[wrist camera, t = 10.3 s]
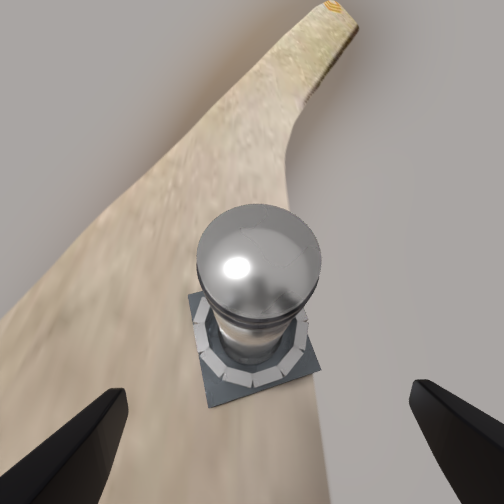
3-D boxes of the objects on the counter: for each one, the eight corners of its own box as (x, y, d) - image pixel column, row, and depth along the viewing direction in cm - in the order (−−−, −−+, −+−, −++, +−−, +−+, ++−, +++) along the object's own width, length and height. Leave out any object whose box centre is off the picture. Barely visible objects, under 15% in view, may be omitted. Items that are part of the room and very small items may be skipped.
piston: (281, 367, 19) (336, 329, 8) (215, 362, 19) (173, 317, 8) (281, 303, 22) (324, 202, 10) (222, 298, 22) (200, 193, 10)
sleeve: (319, 370, 20) (331, 366, 17) (209, 407, 18) (203, 410, 15) (281, 272, 24) (286, 256, 21) (188, 296, 22) (181, 283, 19)
